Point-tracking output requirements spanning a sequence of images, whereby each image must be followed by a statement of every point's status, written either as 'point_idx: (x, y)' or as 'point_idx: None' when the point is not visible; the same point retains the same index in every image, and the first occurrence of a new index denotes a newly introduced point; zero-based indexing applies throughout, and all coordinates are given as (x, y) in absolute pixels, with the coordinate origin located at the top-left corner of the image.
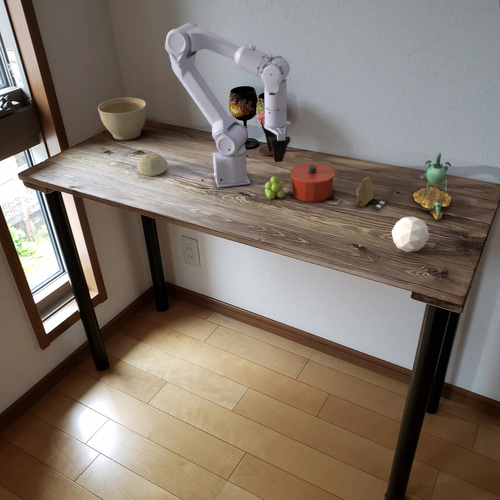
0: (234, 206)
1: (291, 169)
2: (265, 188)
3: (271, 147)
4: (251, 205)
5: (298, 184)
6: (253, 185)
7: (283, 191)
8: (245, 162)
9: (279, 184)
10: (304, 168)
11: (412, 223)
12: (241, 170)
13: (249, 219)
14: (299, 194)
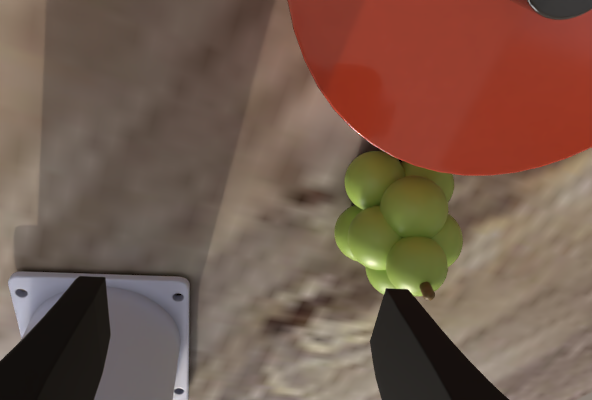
0: None
1: (376, 140)
2: (352, 259)
3: (101, 349)
4: None
5: None
6: (203, 261)
7: (447, 178)
8: (116, 393)
9: (441, 226)
10: (416, 7)
11: None
12: (160, 381)
13: (529, 337)
14: None
